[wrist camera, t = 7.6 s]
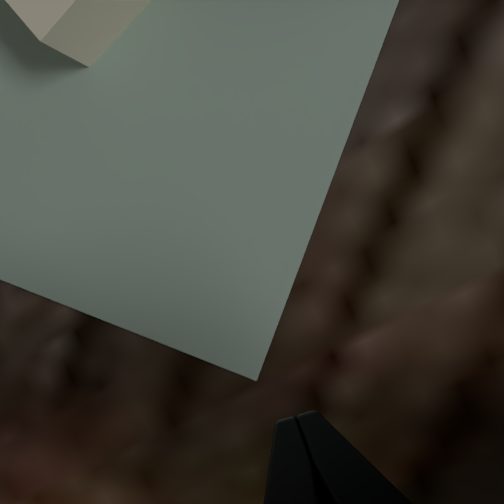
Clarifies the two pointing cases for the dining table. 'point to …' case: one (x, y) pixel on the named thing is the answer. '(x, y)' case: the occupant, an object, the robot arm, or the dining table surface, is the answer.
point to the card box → (78, 23)
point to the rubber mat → (180, 163)
